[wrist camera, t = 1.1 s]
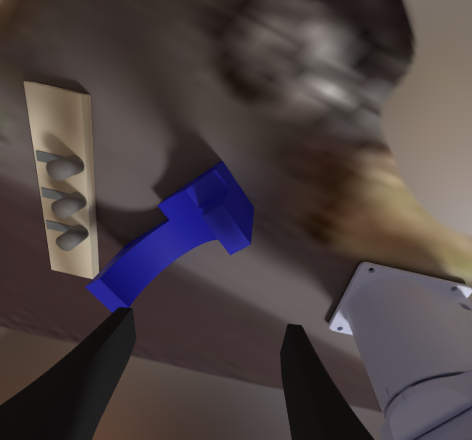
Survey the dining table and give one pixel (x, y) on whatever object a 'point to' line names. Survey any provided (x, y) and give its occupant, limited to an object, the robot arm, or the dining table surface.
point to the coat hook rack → (65, 175)
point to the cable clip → (179, 235)
